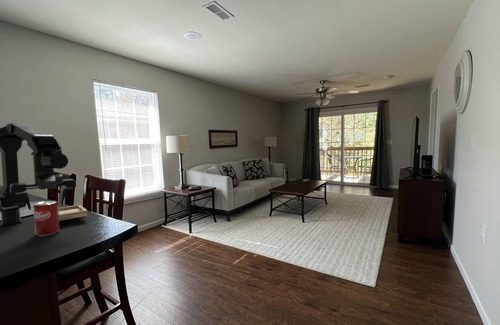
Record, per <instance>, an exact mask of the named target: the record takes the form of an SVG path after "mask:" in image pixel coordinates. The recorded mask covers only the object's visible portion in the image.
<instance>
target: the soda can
mask: <svg viewBox="0 0 500 325" xmlns="http://www.w3.org/2000/svg"><path fill="white" fill-rule="evenodd" d="M59 205H60V204H59V202H58V201H56V200H47V201H40V202H36V203H34V205H33V207H32V208H33V218H34V234H35V236H37V237H45V236H47V237H48V236H51V235H55V234H57V233H58V232H60V229H61V227H60V226H61V225H60V221H59V208H60V206H59Z"/></svg>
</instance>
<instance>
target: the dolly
mask: <svg viewBox="0 0 500 325" xmlns="http://www.w3.org/2000/svg"><path fill="white" fill-rule="evenodd" d="M87 216H88V209H86V207H83V206H82V205H81V204H77V205H76V204H75V205H70V206H62V207H59V222H60V221H66V220H72V219H76V218H79V220H80V222H81V221H82V222H85V220H87Z"/></svg>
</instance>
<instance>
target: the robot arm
mask: <svg viewBox="0 0 500 325" xmlns="http://www.w3.org/2000/svg"><path fill="white" fill-rule="evenodd" d="M23 141H26V145H27V146H28V147H29V148H30V150H31V151H32V152H31V153H30V156H32V158H33V159H32V160H33V174H34V175H33V176H34V177H33V178H34V183H31V184H26V183H25V182H20V181H19V180H20V179H19V165H18V164H19V163H18V162H19V161H18V152H19V151H20V149H21V148H22V146H23ZM62 151H63V150H62V147H61V145H60V144H59V142H58V141H57V139H56V137H55V136H54V135H53V134H49V133H42V132H41V133H40V132H38V131H36V130H35V129H33V128H31V127H28V126H27V125H26V124H23V123H15V122H9V123H7V124H6V125H5V126H3V127H0V155H1V156H0V160H1V171H2V188H1V189H0V216H1V221H0V227H6V226H9V225H10V226H11V225H17V224H22V223H23V219H22V218H21V209H22V208H26V207H27V208H28V210H29V211H31V210H32V206H31V202H30V201H31V200H30V198H29V193H28V191H27V190H35V189H37V190H38V189H39V190H48V189H52V190H54V189H56V188H57V187H60V195H59V196H60V198H59V199H60V200H59V203H60V204H59V205H60V206H63V204H64V201H65V199H66V196H67V194H68V192H69V191H70V190H73V188H76V187H77V180H75V179H73V178H67V179H65V178H64V179H63V174H55V170H56V169H57V170H61V169H64V168H65V167H67V165H68V164H69V159H68V157H67V155H65V154H64V153H63V152H62Z"/></svg>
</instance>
